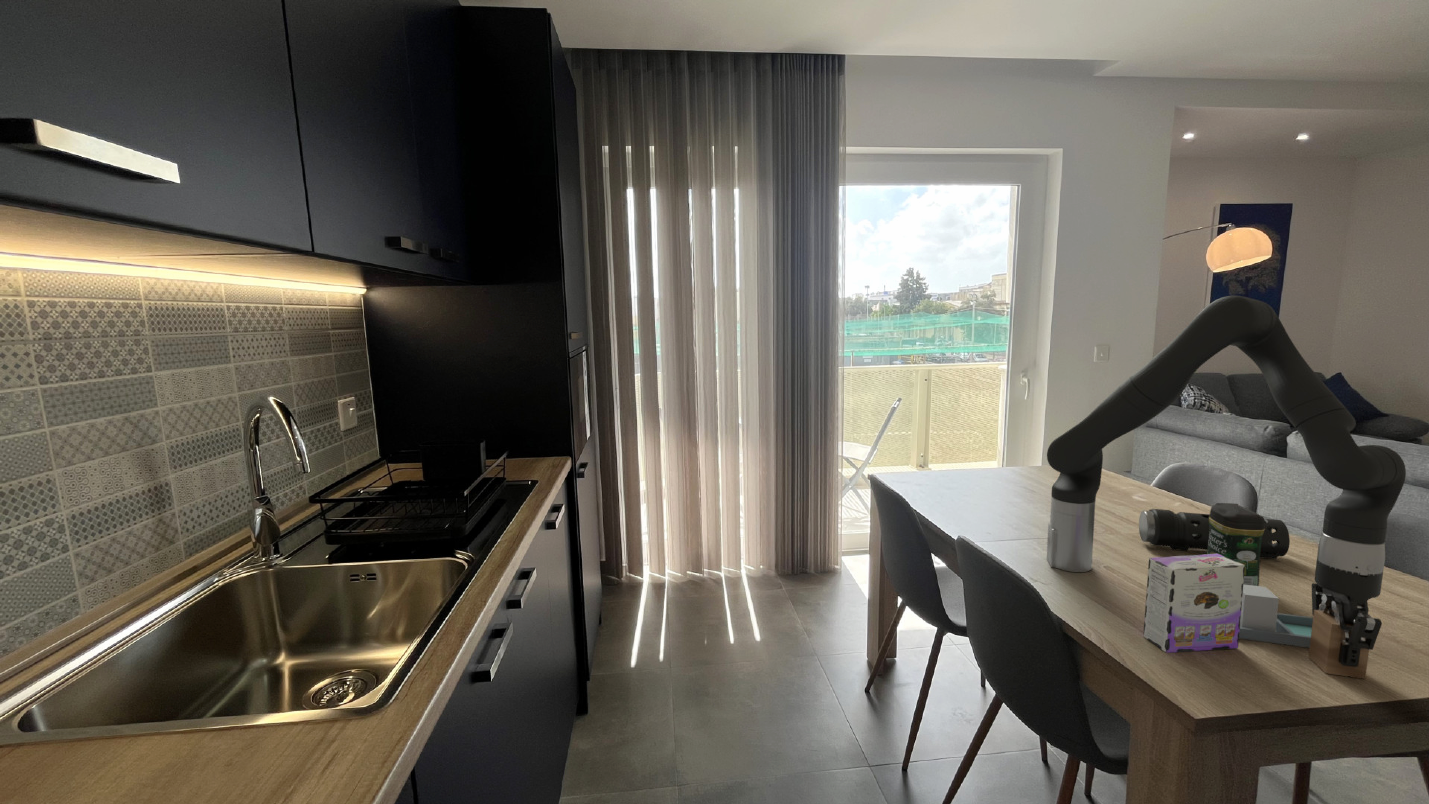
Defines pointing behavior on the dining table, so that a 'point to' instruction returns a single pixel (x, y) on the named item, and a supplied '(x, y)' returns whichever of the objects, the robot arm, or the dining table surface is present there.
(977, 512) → the dining table surface
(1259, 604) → the divider rack
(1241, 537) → the coffee jar
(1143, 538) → the muzzle brake
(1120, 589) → the dining table surface
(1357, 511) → the robot arm
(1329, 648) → the walnut plug
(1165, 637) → the candy box
